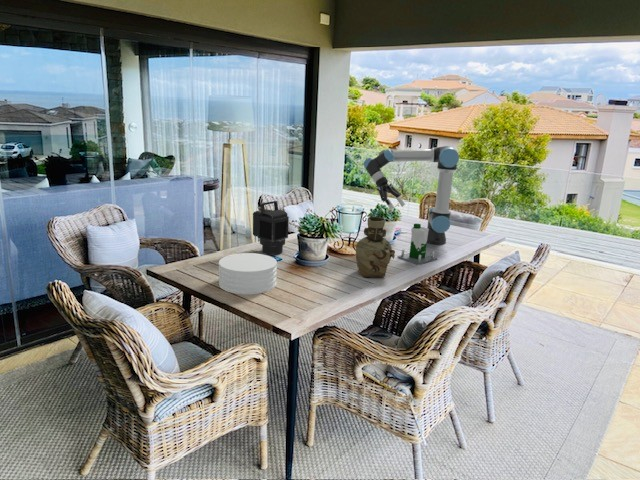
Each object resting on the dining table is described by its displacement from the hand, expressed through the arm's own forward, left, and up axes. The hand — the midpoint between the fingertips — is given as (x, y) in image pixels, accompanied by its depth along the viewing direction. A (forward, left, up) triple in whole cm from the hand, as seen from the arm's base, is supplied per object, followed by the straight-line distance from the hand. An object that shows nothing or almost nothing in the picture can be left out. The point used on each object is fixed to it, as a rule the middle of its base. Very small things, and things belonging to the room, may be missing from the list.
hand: (398, 207), depth 300 cm
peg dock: (+4, +22, -27) cm, 35 cm away
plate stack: (+110, 0, -28) cm, 114 cm away
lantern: (+70, -37, -27) cm, 84 cm away
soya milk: (+5, +22, -26) cm, 34 cm away
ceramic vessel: (+46, +24, -27) cm, 59 cm away
